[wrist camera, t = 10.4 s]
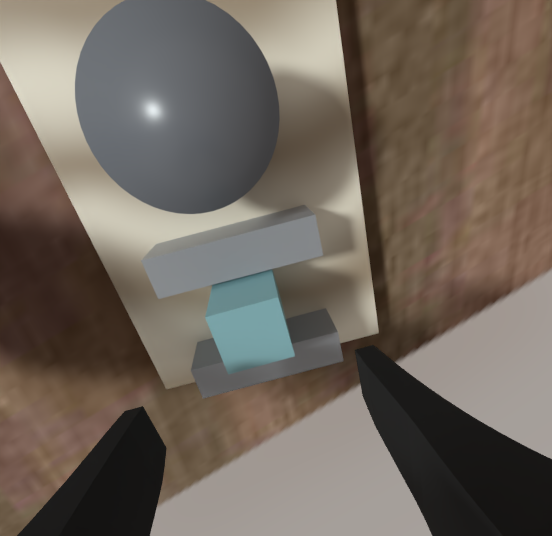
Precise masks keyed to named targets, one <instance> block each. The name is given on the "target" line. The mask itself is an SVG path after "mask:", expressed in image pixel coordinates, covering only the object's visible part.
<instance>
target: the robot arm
mask: <svg viewBox="0 0 552 536" xmlns="http://www.w3.org/2000/svg"><path fill="white" fill-rule="evenodd" d="M355 354H356V359H357V365H358V371H359V377H360V383H361V389H362V394H363V397H364V400H365V402H366V405H367V407H368V410H369V412H370V415H371V417H372V419H373V421H374V424H375V426H376V428H377V430H378V432H379V434H380V436H381V437H382V439H383V441H384V443H385V445H386V447H387V448H388V451H389V452H390V454H391V456H392V458H393V460H394V462H395V463H396V465H397V467H398V469H399V471H400V472H401V474H402V476H403V478H404V480H405V482H406V484H407V485H408V487H409V489H410V491H411V493H412V495H413V496H414V498H415V500H416V502H417V504H418V506H419V508H420V510H421V512H422V514H423V516H424V518H425V520H426V522H427V525H428V527H429V529H430V531H431V534H432V536H552V459H550V458H548V457H546V456H544V455H541V454H539V453H538V452H536V451H533V450H531V449H529V448H527V447H526V446H524V445H522V444H520V443H518V442H516V441H514V440H512V439H511V438H509V437H507V436H505V435H503V434H501V433H499V432H498V431H496V430H494V429H493V428H491V427H489V426H487V425H485V424H484V423H482V422H480V421H479V420H477V419H475V418H474V417H472V416H470V415H469V414H467V413H466V412H464V411H462V410H461V409H459V408H458V407H456V406H455V405H453V404H452V403H450V402H449V401H447V400H445V399H444V398H442V397H441V396H440V395H438V394H437V393H435V392H434V391H432V390H431V389H429V388H428V387H427V386H425V385H424V384H423V383H421V382H420V381H418V380H417V379H416V378H414V377H413V376H412V375H410V374H409V373H407V372H406V371H405V370H404V369H402V368H401V367H400V366H399V365H397V364H396V363H395V362H394V361H392V360H391V359H390V358H389V357H387V356H386V355H385V354H384V353H383V352H381V351H380V350H379V349H378V348H377V347H375V346H373V345H372V346H368V347H364V348H361V349H357V350H355ZM165 457H166V446H165V445H164V443H163V441H162V439H161V438H160V436H159V434H158V432H157V430H156V429H155V427H154V425H153V423H152V422H151V420H150V418H149V416H148V415H147V413H146V411H145V409H144V407H143V406H142V407H139V408H135V409H131V410H127V411H125V412H124V413H123V414H122V415H121V416H120V417H119V418H118V419H117V421H116V422H115V423H114V424H113V425H112V427H111V428H110V429H109V430H108V431H107V432H106V434H105V435H104V436H103V437H102V439H101V440H100V441H99V442H98V443H97V445H96V446H95V447H94V448H93V449H92V451H91V452H90V453H89V454H88V455H87V457H86V458H85V459H84V460H83V461H82V463H81V464H80V465H79V466H78V467H77V469H76V470H75V471H74V472H73V473H72V475H71V476H70V477H69V478H68V479H67V481H66V482H65V483H64V484H63V485H62V486H61V487H60V488H59V490H58V491H57V492H56V493H55V494H54V495H53V496H52V498H51V499H50V500H49V501H48V502H47V503H46V504H45V505H44V507H43V508H42V509H41V510H40V511H39V512H38V513H37V514H36V516H35V517H34V518H33V519H32V520H31V521H30V522H29V523H28V524H27V526H26V527H25V528H24V529H23V530H22V531H21V532H20V533H19V534H18V535H17V536H150V532H151V528H152V524H153V520H154V516H155V511H156V507H157V503H158V499H159V495H160V490H161V486H162V481H163V473H164V466H165Z"/></svg>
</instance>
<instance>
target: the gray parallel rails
mask: <svg viewBox="0 0 552 536" xmlns="http://www.w3.org/2000/svg"><path fill="white" fill-rule="evenodd" d="M320 256H323V252H322V247H321V241H320V236H319V231H318V226H317V221H316V216H315V214H314V213H313V212H312V211H311V210H310V209H309V208H308V207H307V206H306V205H302V206H298V207H294V208H290V209H287V210H283V211H279V212H275V213H271V214H268V215H264V216H260V217H256V218H252V219H249V220H245V221H241V222H237V223H234V224H230V225H226V226H222V227H218V228H215V229H211V230H207V231H203V232H199V233H196V234H192V235H188V236H184V237H181V238H177V239H173V240H169V241H165V242H162V243H158V244H156V245H155V246H154V247H153V248H152V249H151V250H150V251H149V252H148V253H147V255H146V256H145V257H144V258H143V259H142V260H141V262H142V264H143V266H144V268H145V271H146V273H147V275H148V277H149V279H150V282H151V284H152V286H153V288H154V291H155V293H156V295H157V297H158V299H161V298H165V297H168V296H172V295H176V294H180V293H183V292H187V291H191V290H195V289H199V288H202V287H206V286H210V285H214V284H218V283H221V282H225V281H229V280H233V279H236V278H240V277H244V276H248V275H252V274H255V273H259V272H263V271H267V270H270V269H274V268H278V267H282V266H286V265H289V264H293V263H297V262H301V261H304V260H308V259H312V258H316V257H320ZM286 322H287V326H288V330H289V334H290V338H291V342H292V346H293V350H294V354H295V356H294V357H291V358H287V359H283V360H280V361H276V362H272V363H269V364H265V365H262V366H258V367H254V368H251V369H247V370H243V371H240V372H236V373H233V374H229V375H228V372H227V370H226V368H225V365H224V363H223V360H222V358H221V355H220V353H219V350H218V348H217V345H216V343H215V341H214V338H211V339H208V340H204V341H200V342H197V346H196V350H195V354H194V359H193V363H192V367H191V373H192V375H193V377H194V379H195V381H196V384H197V386H198V388H199V390H200V392H201V395H202V397H203V398H206V397H210V396H214V395H218V394H221V393H225V392H229V391H233V390H237V389H240V388H244V387H248V386H252V385H255V384H259V383H263V382H267V381H270V380H274V379H278V378H282V377H286V376H289V375H293V374H297V373H301V372H304V371H308V370H312V369H316V368H319V367H323V366H327V365H331V364H335V363H338V362H342V361H343V356H342V350H341V345H340V340H339V335H338V331H337V329H336V327H335V325H334V323H333V321H332V319H331V317H330V315H329V313H328V311H327V309H326V308H325V309H321V310H317V311H313V312H310V313H306V314H302V315H298V316H294V317H291V318H287V319H286Z"/></svg>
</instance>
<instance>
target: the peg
mask: <svg viewBox="0 0 552 536" xmlns="http://www.w3.org/2000/svg"><path fill="white" fill-rule="evenodd" d="M205 319H206V321H207V323H208V326H209V328H210V331H211V333H212V336H213V338H214V341H215V343H216V345H217V348H218V350H219V353H220V355H221V358H222V360H223V363H224V365H225V368H226V370H227V372H228V375H229V374H233V373H236V372H240V371H243V370H247V369H251V368H254V367H258V366H262V365H265V364H269V363H272V362H276V361H280V360H283V359H287V358H291V357H294V356H295V354H294V350H293V346H292V342H291V338H290V334H289V330H288V326H287V322H286V317H285V313H284V309H283V305H282V301H281V298H280V294H279V291H278V287H277V284H276V280H275V277H274V273H273V270H272V269H270V270H267V271H263V272H259V273H255V274H252V275H248V276H244V277H240V278H236V279H233V280H229V281H225V282H221V283H218V284H214V285H212V289H211V293H210V298H209V302H208V307H207V311H206V315H205Z"/></svg>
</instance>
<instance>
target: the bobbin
mask: <svg viewBox="0 0 552 536" xmlns="http://www.w3.org/2000/svg"><path fill="white" fill-rule="evenodd" d="M75 101H76V108H77V114H78V118H79V122H80V126H81V129H82V131H83V134H84V137H85V139H86V142H87V144H88V145H89V147H90V149H91V151H92V153H93V155H94V156H95V158H96V159H97V161H98V162H99V164H100V165H101V167H102V168H103V169H104V170H105V172H106V173H107V174H108V175H109V176H110V177H111V178H112V179H113V180H114V181H115V182H116V183H117V184H118V185H119V186H120V187H121V188H122V189H124V190H125V191H126V192H128V193H129V194H130V195H132V196H133V197H135V198H137V199H138V200H140V201H142V202H144V203H146V204H148V205H150V206H152V207H155V208H158V209H161V210H164V211H168V212H173V213H180V214H201V213H206V212H211V211H215V210H218V209H221V208H224V207H226V206H228V205H230V204H232V203H234V202H235V201H237V200H238V199H240V198H241V197H243V196H244V195H245V194H246V193H247V192H249V191H250V190H251V189H252V188H253V187H254V186H255V184H256V183H257V182H258V181H259V180H260V178H261V177H262V175H263V174H264V172H265V171H266V169H267V167H268V165H269V163H270V161H271V159H272V156H273V153H274V150H275V147H276V143H277V138H278V133H279V121H280V115H279V101H278V94H277V89H276V85H275V82H274V78H273V75H272V73H271V70H270V67H269V65H268V62H267V61H266V59H265V57H264V55H263V53H262V51H261V49H260V48H259V46H258V45H257V44H256V42H255V41H254V39H253V38H252V36H251V35H250V34H249V33H248V32H247V31H246V30H245V28H244V27H243V26H242V25H241V24H240V23H239V22H238V21H236V20H235V19H234V18H233V17H232V16H231V15H230V14H228V13H227V12H225V11H224V10H222V9H221V8H219V7H218V6H216V5H215V4H213V3H210V2H208V1H206V0H124V1H123V2H121V3H119V4H117V5H116V6H114V7H113V8H112V9H111V10H109V11H108V12H107V13H106V14H104V15H103V16H102V18H101V19H100V20H99V21H98V22H97V23H96V25H95V26H94V27H93V29H92V30H91V32H90V34H89V35H88V37H87V38H86V41H85V43H84V45H83V48H82V50H81V52H80V56H79V60H78V64H77V68H76V77H75Z"/></svg>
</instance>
